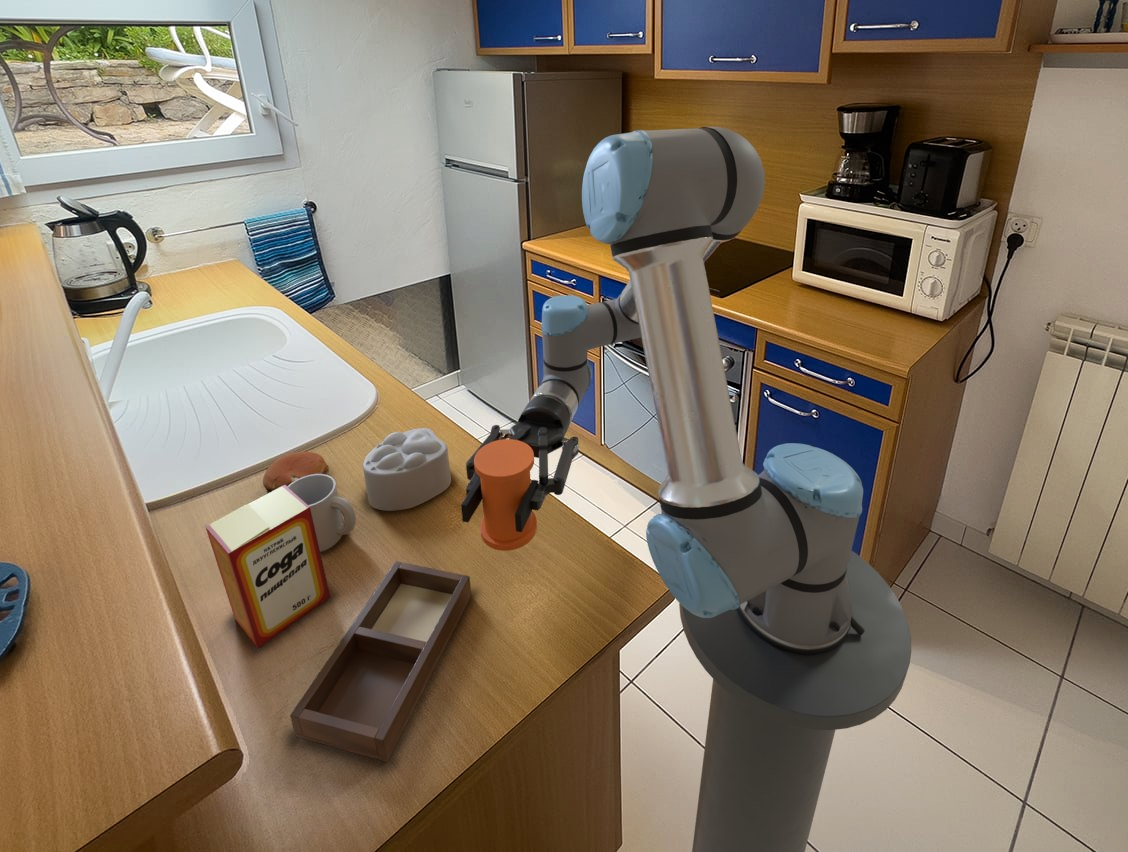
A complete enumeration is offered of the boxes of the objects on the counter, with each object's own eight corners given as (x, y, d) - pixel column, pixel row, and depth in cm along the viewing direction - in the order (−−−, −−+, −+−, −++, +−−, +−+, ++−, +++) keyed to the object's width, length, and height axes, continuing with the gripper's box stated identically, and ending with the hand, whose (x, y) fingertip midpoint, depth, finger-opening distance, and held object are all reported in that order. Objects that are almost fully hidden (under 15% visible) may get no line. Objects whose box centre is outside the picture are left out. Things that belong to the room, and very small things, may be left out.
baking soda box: (306, 572, 85) (284, 482, 78) (330, 597, 81) (309, 504, 75) (234, 618, 78) (204, 524, 72) (257, 648, 74) (227, 551, 68)
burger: (314, 459, 107) (310, 438, 105) (339, 483, 102) (335, 461, 100) (256, 487, 100) (250, 465, 99) (279, 515, 95) (273, 492, 93)
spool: (544, 514, 84) (541, 443, 79) (525, 555, 77) (521, 480, 72) (493, 505, 85) (488, 435, 81) (471, 545, 78) (463, 471, 74)
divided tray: (471, 595, 81) (469, 575, 80) (387, 762, 63) (382, 740, 61) (398, 580, 84) (395, 560, 82) (295, 736, 65) (289, 715, 63)
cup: (310, 517, 94) (300, 471, 91) (370, 523, 93) (362, 477, 90) (282, 553, 88) (270, 505, 84) (347, 560, 87) (337, 512, 83)
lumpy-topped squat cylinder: (457, 485, 102) (453, 443, 98) (383, 522, 93) (376, 478, 90) (429, 455, 109) (424, 415, 105) (357, 488, 101) (350, 446, 97)
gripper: (607, 443, 94) (566, 555, 73) (492, 426, 98) (423, 528, 77) (607, 402, 91) (565, 507, 71) (489, 387, 95) (416, 482, 75)
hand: (491, 518), depth 74 cm, fingers closed on spool, 6 cm apart
